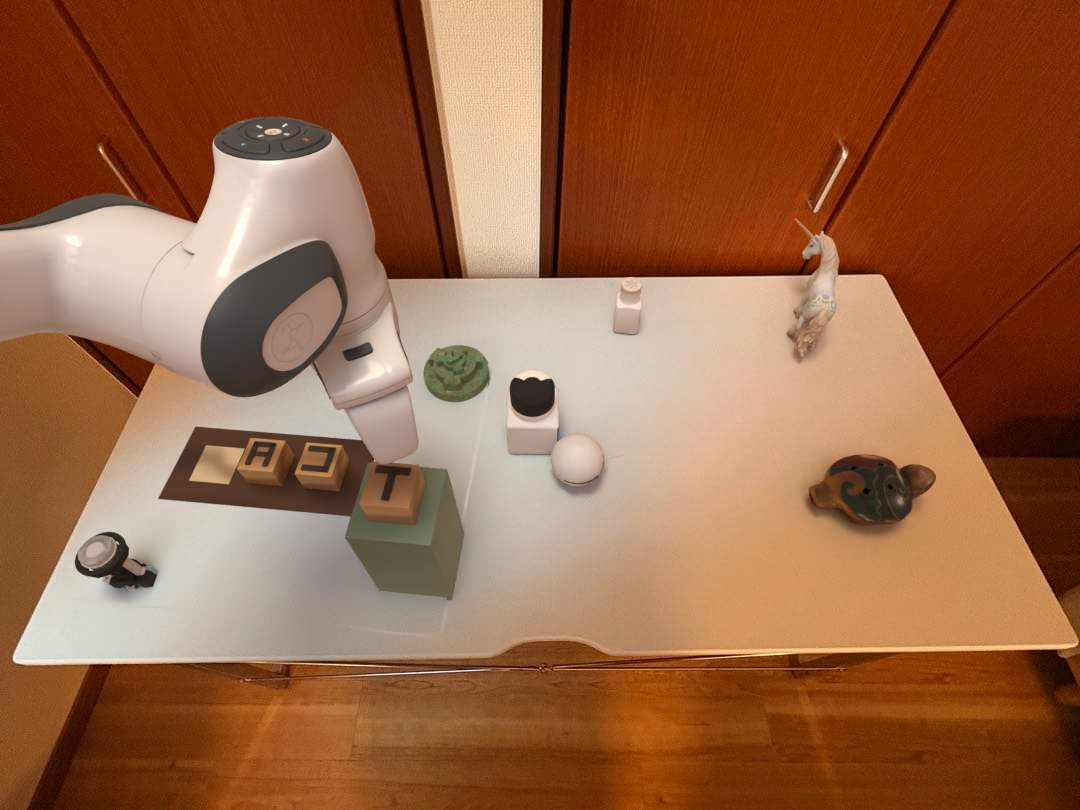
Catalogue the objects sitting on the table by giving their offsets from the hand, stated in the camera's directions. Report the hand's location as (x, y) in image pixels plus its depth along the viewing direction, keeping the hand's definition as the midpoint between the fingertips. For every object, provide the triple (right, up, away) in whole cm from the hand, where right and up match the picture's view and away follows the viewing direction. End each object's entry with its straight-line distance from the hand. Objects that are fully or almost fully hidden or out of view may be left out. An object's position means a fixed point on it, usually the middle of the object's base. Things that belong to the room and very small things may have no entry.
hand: (377, 411), depth 62 cm
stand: (+1, -20, +17) cm, 26 cm away
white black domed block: (+15, -4, +29) cm, 33 cm away
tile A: (-21, -8, +24) cm, 34 cm away
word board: (-21, -9, +25) cm, 34 cm away
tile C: (-13, -9, +24) cm, 29 cm away
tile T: (+1, -10, +3) cm, 10 cm away
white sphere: (+23, -9, +25) cm, 35 cm away
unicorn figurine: (+58, +15, +42) cm, 73 cm away
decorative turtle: (+59, -13, +22) cm, 65 cm away
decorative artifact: (+3, +4, +35) cm, 35 cm away
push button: (-35, -22, +16) cm, 44 cm away
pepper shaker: (+31, +14, +41) cm, 53 cm away
